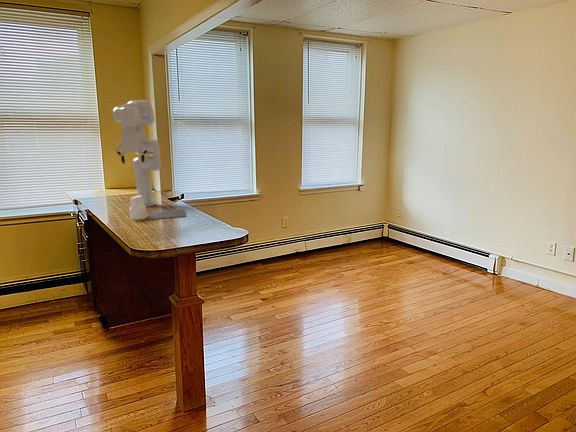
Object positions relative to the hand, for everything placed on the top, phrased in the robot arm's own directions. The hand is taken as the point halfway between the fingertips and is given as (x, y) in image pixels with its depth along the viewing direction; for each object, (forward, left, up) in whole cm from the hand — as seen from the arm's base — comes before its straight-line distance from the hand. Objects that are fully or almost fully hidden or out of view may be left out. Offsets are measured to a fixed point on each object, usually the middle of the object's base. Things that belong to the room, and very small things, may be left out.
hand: (133, 163), depth 234 cm
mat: (-3, +15, -31) cm, 34 cm away
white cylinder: (-3, -1, -31) cm, 31 cm away
